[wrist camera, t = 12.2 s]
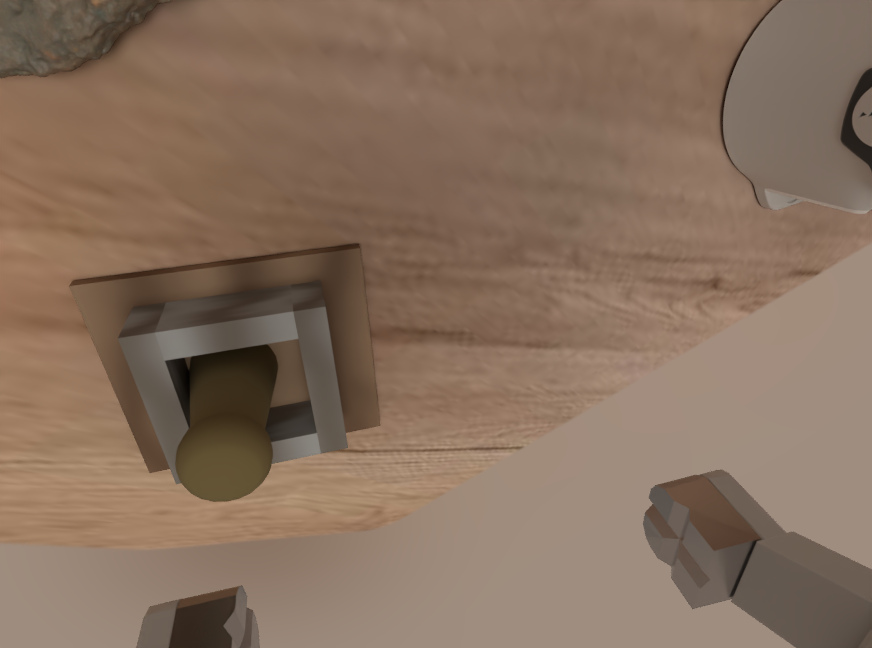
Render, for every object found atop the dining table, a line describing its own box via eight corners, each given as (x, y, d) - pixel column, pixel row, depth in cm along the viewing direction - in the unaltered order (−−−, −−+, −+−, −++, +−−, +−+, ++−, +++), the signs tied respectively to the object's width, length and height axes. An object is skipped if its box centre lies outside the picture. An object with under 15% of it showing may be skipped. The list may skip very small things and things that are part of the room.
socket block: (358, 244, 37) (369, 270, 33) (378, 419, 45) (389, 458, 41) (73, 280, 33) (45, 316, 29) (151, 465, 41) (138, 513, 37)
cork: (289, 387, 40) (295, 496, 31) (209, 412, 39) (190, 532, 30) (261, 321, 37) (258, 421, 27) (174, 347, 36) (140, 458, 27)
